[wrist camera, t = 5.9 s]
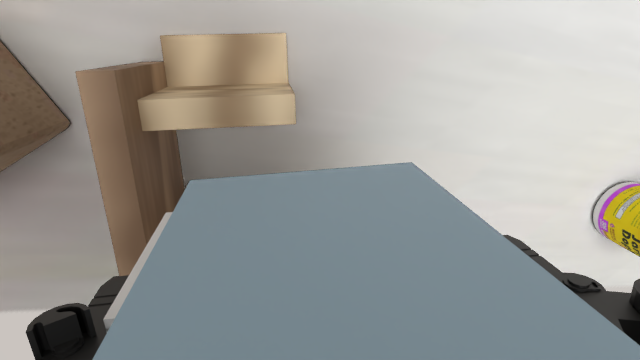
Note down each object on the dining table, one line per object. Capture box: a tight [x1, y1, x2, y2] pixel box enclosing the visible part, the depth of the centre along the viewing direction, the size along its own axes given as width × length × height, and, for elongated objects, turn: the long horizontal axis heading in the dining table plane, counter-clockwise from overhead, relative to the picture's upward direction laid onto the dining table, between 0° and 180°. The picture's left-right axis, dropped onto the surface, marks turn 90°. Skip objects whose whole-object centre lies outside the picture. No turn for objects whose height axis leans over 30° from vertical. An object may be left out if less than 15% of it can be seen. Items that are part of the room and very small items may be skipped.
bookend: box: [137, 33, 296, 131], centre depth 30 cm, size 10×6×9 cm, turn 91°
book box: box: [93, 162, 640, 360], centre depth 12 cm, size 10×4×13 cm, turn 92°
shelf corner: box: [76, 61, 185, 276], centre depth 30 cm, size 15×14×12 cm
